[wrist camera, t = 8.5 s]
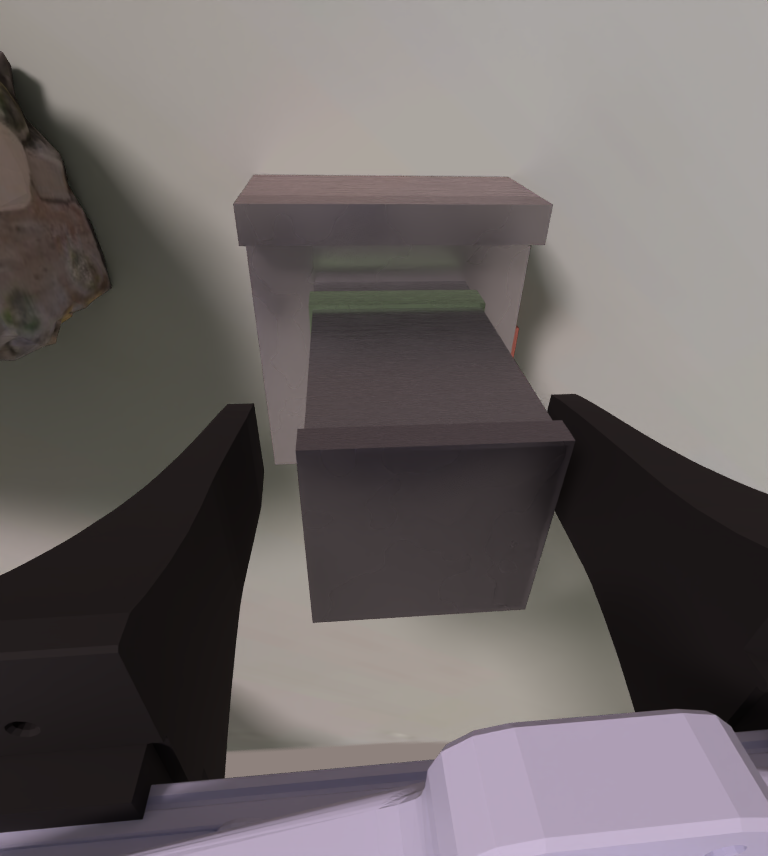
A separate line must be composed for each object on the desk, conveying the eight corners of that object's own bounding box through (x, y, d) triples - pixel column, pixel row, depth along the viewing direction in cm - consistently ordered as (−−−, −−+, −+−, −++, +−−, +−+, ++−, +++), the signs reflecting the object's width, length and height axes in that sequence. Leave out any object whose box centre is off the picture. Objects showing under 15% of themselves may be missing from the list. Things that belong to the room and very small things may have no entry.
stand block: (477, 411, 21) (503, 473, 18) (281, 417, 21) (272, 483, 18) (512, 176, 16) (558, 204, 13) (253, 174, 16) (233, 203, 12)
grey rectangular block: (453, 408, 18) (524, 609, 11) (319, 412, 17) (312, 622, 11) (468, 277, 15) (575, 440, 8) (311, 278, 15) (295, 450, 8)
